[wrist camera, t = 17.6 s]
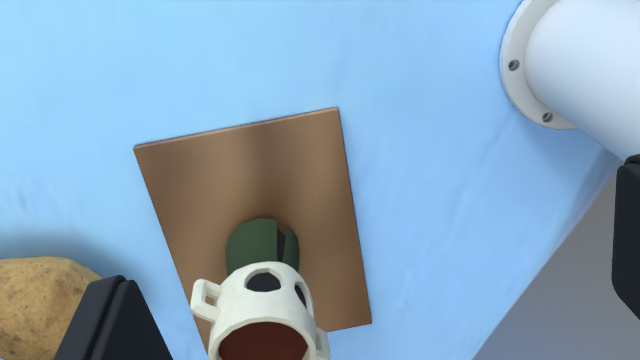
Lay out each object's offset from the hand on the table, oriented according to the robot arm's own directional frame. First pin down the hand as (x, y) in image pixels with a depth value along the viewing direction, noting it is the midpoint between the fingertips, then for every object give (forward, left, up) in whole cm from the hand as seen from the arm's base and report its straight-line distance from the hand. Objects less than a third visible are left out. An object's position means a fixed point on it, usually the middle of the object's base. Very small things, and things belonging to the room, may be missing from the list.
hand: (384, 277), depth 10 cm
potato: (+24, +19, -32) cm, 44 cm away
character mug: (+6, +19, -31) cm, 37 cm away
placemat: (+6, +19, -31) cm, 37 cm away
